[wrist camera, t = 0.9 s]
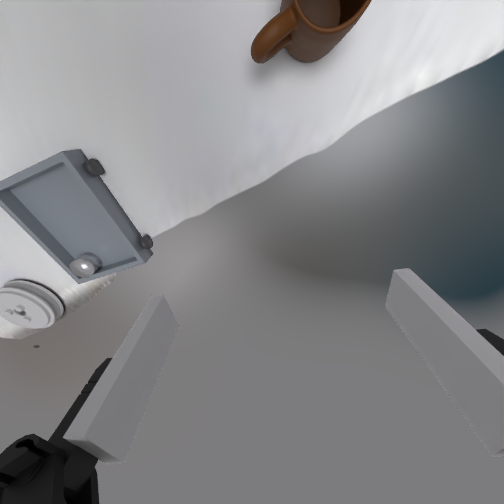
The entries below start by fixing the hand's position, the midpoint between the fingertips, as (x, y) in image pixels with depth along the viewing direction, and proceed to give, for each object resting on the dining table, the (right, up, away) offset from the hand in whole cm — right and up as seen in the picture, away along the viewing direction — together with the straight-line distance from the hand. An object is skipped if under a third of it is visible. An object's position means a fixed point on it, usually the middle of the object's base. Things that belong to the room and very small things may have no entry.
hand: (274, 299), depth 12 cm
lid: (-53, -8, +37) cm, 65 cm away
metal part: (-34, +1, +29) cm, 44 cm away
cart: (-32, +8, +26) cm, 42 cm away
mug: (+4, +29, +13) cm, 32 cm away
